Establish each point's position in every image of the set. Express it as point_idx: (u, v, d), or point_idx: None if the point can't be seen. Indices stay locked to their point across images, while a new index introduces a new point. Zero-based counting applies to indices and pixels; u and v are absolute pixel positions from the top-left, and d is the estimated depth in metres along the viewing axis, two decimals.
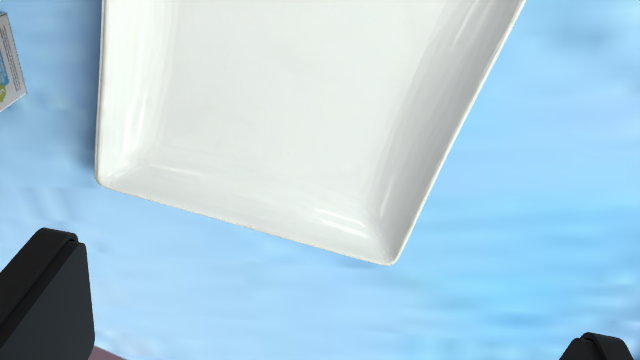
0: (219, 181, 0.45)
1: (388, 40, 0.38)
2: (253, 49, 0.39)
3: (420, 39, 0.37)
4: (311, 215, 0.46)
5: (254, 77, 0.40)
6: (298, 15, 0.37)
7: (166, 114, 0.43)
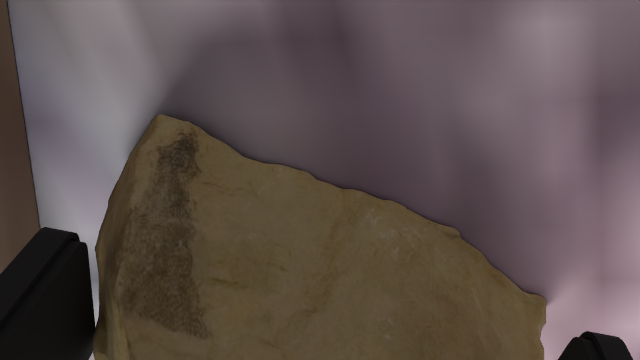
0: None
1: None
2: None
3: None
4: None
5: None
6: None
7: None
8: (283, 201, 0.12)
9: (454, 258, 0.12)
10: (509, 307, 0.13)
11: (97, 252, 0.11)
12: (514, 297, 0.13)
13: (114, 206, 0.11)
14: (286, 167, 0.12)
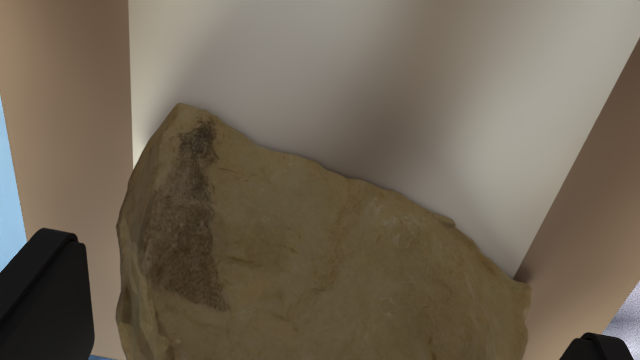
0: None
1: None
2: None
3: None
4: None
5: None
6: None
7: None
8: (294, 187, 0.12)
9: (449, 246, 0.13)
10: (498, 293, 0.14)
11: (118, 230, 0.12)
12: (503, 284, 0.14)
13: (136, 188, 0.12)
14: (296, 156, 0.13)
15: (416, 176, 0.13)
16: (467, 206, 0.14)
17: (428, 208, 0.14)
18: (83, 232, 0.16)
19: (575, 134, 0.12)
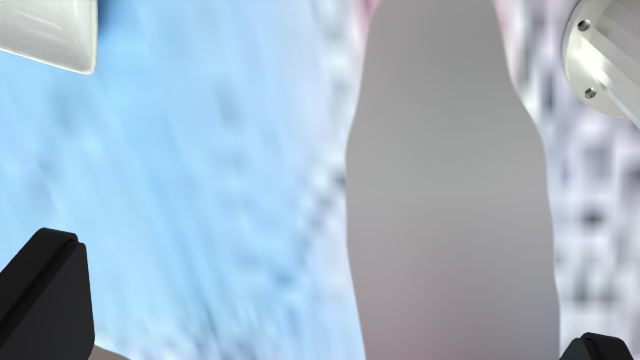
0: None
1: None
2: None
3: None
4: None
5: None
6: None
7: None
8: None
9: None
10: None
11: None
12: None
13: None
14: None
15: None
16: None
17: None
18: None
19: None
